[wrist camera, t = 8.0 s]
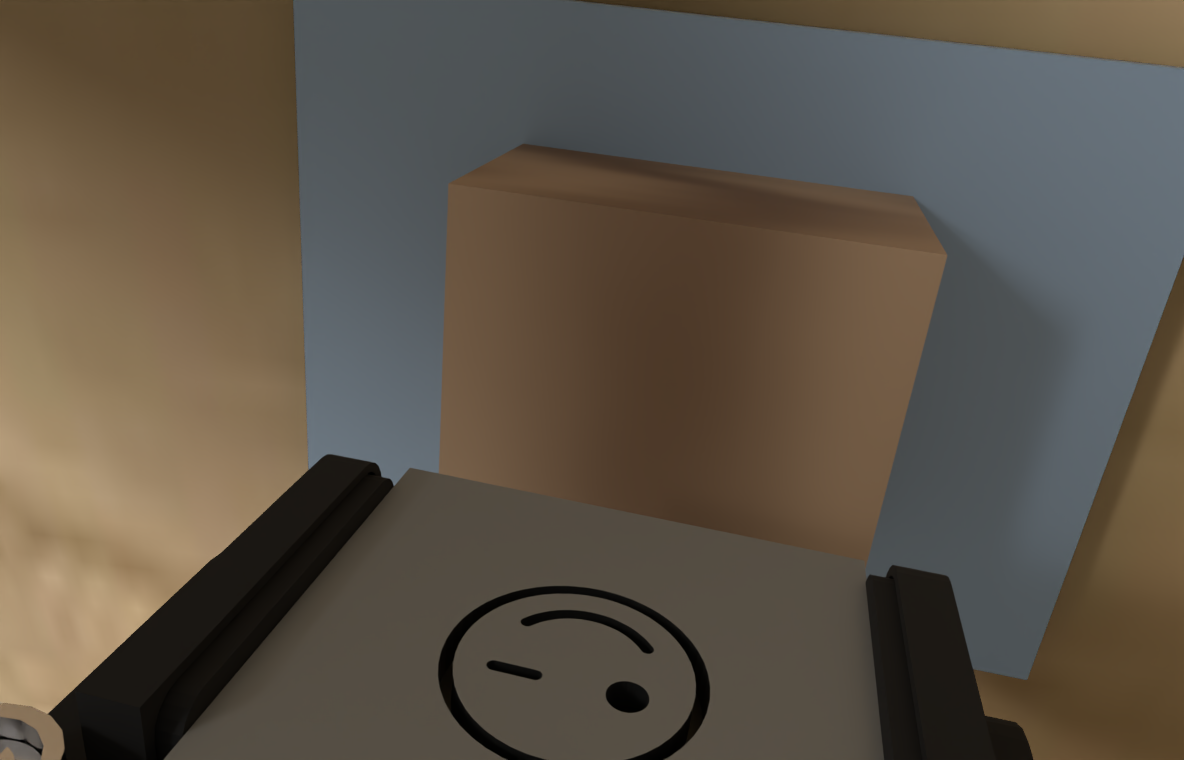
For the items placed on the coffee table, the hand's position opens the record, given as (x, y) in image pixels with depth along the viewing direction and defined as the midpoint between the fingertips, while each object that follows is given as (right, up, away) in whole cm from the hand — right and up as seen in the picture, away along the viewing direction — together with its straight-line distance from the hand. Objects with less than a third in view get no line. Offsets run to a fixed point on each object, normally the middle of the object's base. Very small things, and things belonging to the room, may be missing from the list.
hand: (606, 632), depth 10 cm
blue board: (+2, +4, +9) cm, 10 cm away
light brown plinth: (+2, +3, +8) cm, 9 cm away
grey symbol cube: (0, -1, +1) cm, 1 cm away
